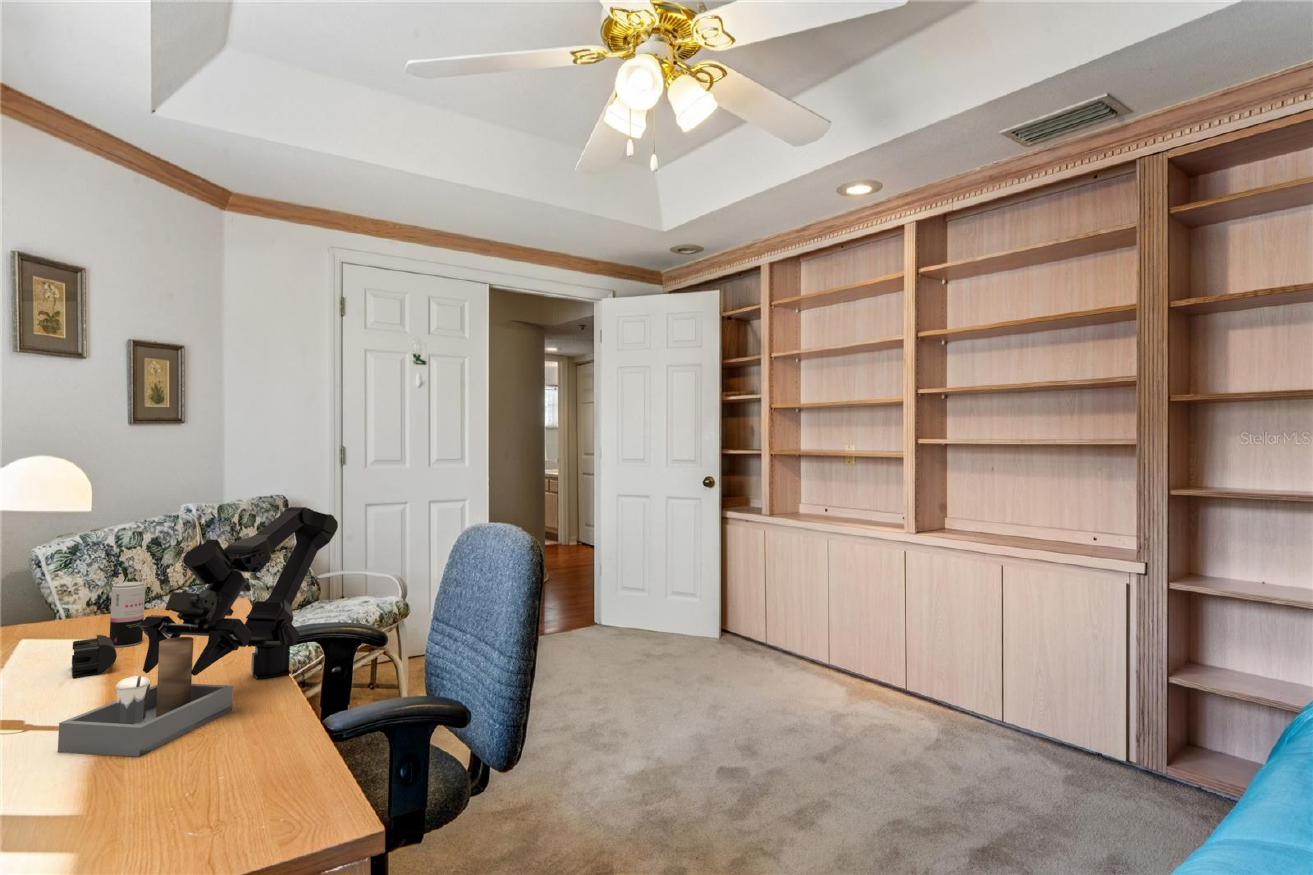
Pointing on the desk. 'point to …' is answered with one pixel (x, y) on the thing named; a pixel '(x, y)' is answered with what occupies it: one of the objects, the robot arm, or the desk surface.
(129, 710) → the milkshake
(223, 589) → the robot arm
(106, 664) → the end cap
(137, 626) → the beverage can
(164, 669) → the walnut cylinder
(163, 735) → the tray
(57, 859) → the desk surface
